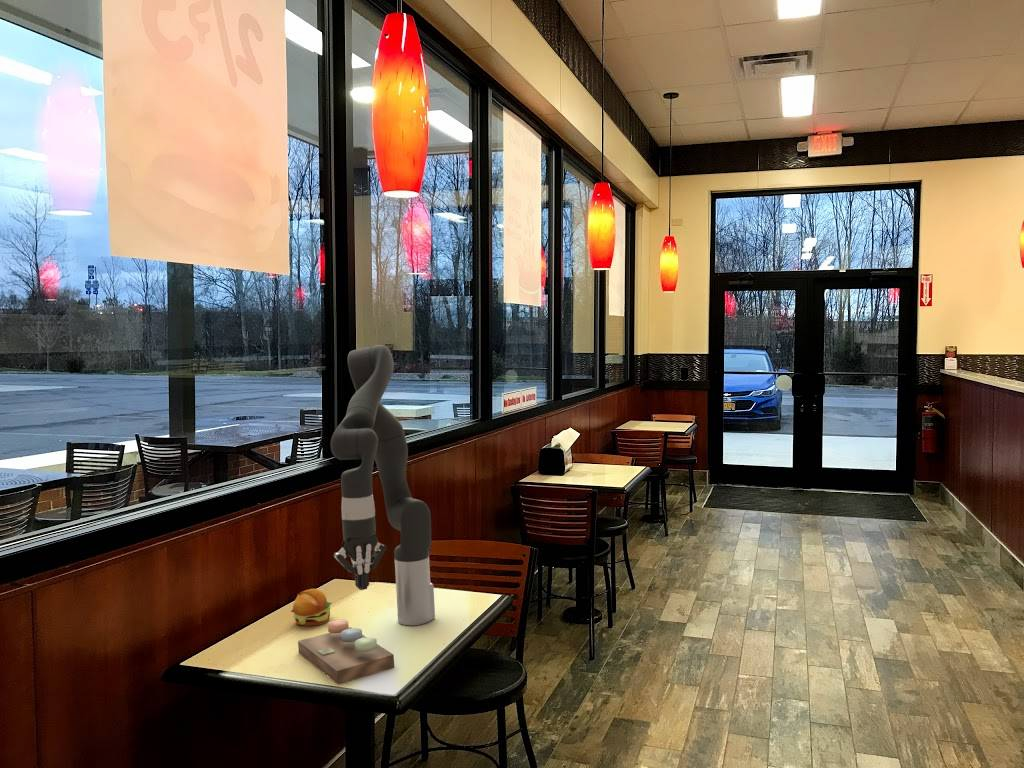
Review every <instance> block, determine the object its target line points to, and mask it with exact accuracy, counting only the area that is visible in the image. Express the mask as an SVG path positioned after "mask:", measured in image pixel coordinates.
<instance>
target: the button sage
mask: <svg viewBox="0 0 1024 768" xmlns="http://www.w3.org/2000/svg"><path fill="white" fill-rule="evenodd" d="M377 640H378V639H377V638H375V637H373V636H372V637H371V636H370V637H369V636H365V638H360V639H358V640H356V641H355V650H356V651H358V652H369V651H372V650H375V649H376V648H377V644H378V643H377V642H378V641H377Z"/></svg>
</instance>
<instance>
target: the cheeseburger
mask: <svg viewBox="0 0 1024 768" xmlns="http://www.w3.org/2000/svg"><path fill="white" fill-rule="evenodd" d="M331 605H332V602H329V601H327V597H326V595H325V594H324V592H322V591H321V590H320V589H318V588H309V589H306V590H303V591H300V592H299V593H298V594H297V596H296V598H295V599H294V602H293V606H292V609H291V610H290V612H291V613H293V616H292V617H293V619H294V620H295V623H296V624H297V625H301V626H302V627H303V626H305V627H314V626H319V625H324V624H325V623H327V622H328V621H329V620H330V616H331Z"/></svg>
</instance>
